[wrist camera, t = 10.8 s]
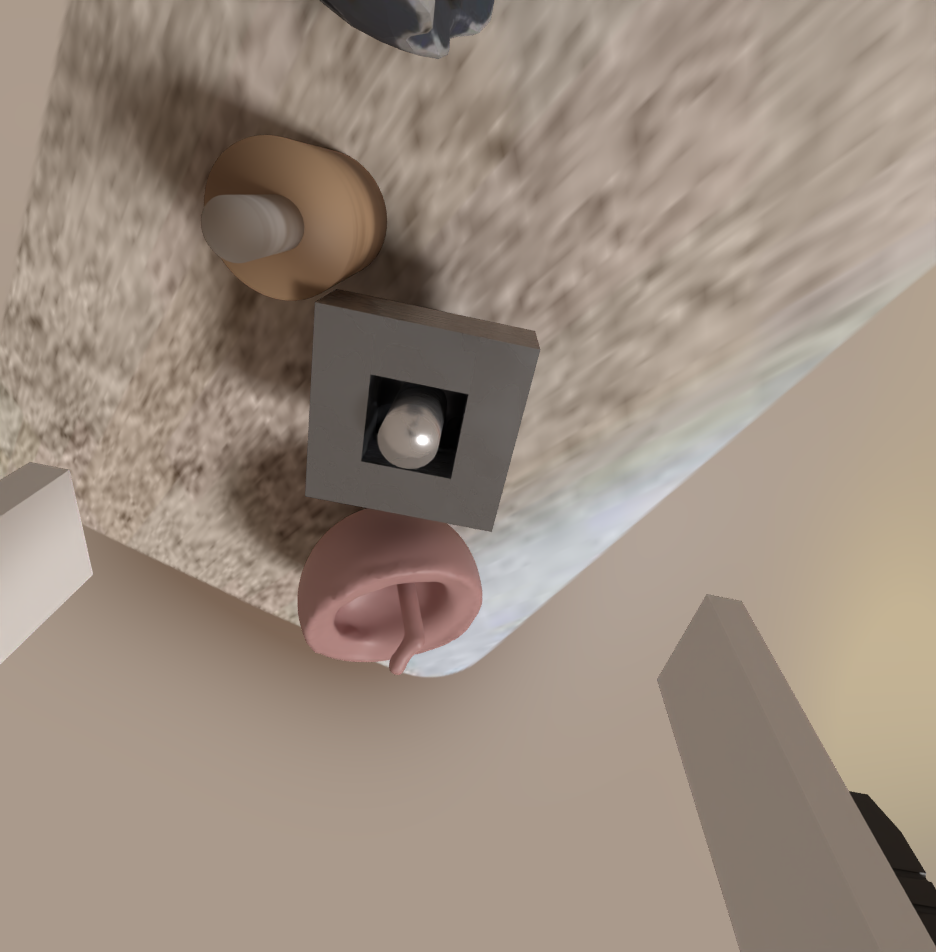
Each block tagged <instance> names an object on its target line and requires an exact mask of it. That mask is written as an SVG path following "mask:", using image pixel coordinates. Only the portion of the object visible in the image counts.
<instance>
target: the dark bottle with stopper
mask: <svg viewBox="0 0 936 952" xmlns="http://www.w3.org/2000/svg"><path fill="white" fill-rule="evenodd" d="M466 397H467V394H464V393H460V392H455V391H450V390H445V389H440V388H435V387H430V386H425V385H420V384H416V383H411V382H406V381H401V380H396V379H391V378H386V377H382V381H381V390H380V398H379V406H378V415H377V423H376V431H375V433H377V434H378V446H379V449H380V451H381V453H382V454H383V456H384V457H385V458H386V459H387V460H388V461H389V462H391V463H392V464H394V465H396V466H398V467H401V468H406V469H416V468H420V467H423V466H425V465H426V464H428V463H429V462H430V461H431V460H432V459H433V458H434V457H435V455H436V453H437V450H438V446H443V447H448V448H453V449H456V445H457V440H458V435H459V431H460V426H461V421H462V416H463V411H464V406H465V402H466Z"/></svg>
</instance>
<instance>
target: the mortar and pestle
mask: <svg viewBox="0 0 936 952" xmlns="http://www.w3.org/2000/svg"><path fill="white" fill-rule="evenodd" d="M481 605H482V586H481V581H480V576H479V573H478V569H477V566H476V563H475V560H474V558H473V556H472V554H471V552H470V550H469V548H468V547H467V545H466V544H465V542H464V541H463V539H462V538H461V537H460V536H459V534H458V533H457V532H456V531H455V530H454V529H453V528H452V527H450V526H449V525H448V524H447V523H443V522H438V521H432V520H427V519H422V518H417V517H411V516H406V515H401V514H396V513H390V512H385V511H380V510H375V509H369V508H367V509H364V510H361V511H358V512H356V513H353V514H352V515H350V516H348V517H346V518H344V519H343V520H341V521H340V522H338V523H337V524H336V525H334V526H333V527H332V528H330V529H329V530H328V531H327V532H326V533H325V534H324V535H323V537H322V538H321V539H320V540H319V541H318V542H317V544H316V545H315V547H314V548H313V550H312V551H311V553H310V555H309V557H308V559H307V561H306V563H305V566H304V568H303V571H302V574H301V578H300V582H299V589H298V615H299V621H300V625H301V628H302V632H303V635H304V637H305V640H306V643H307V644H308V645H309V646H310V647H311V648H312V649H313V651H314V652H316V653H320V654H322V655H325V656H327V657H330V658H334V659H339V660H344V661H353V662H377V661H385V660H390V663H389V669H390V671H391V672H392V673H393V674H395V675H400V674H401V673H403V671H404V670H405V668H406V665H407V663H408V662H409V660H410V659H411V657H412V656H413V655H414V654H419V653H423V652H426V651H429V650H432V649H435V648H438V647H440V646H443V645H445V644H447V643H449V642H451V641H452V640H455V639H456V638H458V637H459V636H460V635H462V634H463V633H464V632H465V631H466V630H467V629H468V628H469V626H470V625H471V623H472V622H473V620H474V618H475V617H476V615H477V614H478V612H479V610H480V607H481Z"/></svg>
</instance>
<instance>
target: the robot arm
mask: <svg viewBox="0 0 936 952" xmlns="http://www.w3.org/2000/svg"><path fill="white" fill-rule="evenodd" d="M92 575H93V572H92V568H91V563H90V559H89V555H88V550H87V545H86V541H85V537H84V532H83V528H82V523H81V519H80V514H79V510H78V505H77V501H76V496H75V492H74V488H73V483H72V479H71V474H70V470H68V469H63V468H58V467H53V466H48V465H43V464H37V463H32V462H29V463H27V464H26V465H24V466H22V467H21V468H19V469H17V470H16V471H14V472H13V473H11V474H9V475H8V476H6V477H4V478H3V479H1V480H0V664H1V663H2V662H3V661H4V660H5V659H6V658H7V657H8V656H9V655H10V654H11V653H12V652H13V651H14V650H15V649H17V648H18V646H20V645H21V644H22V643H23V642H24V641H25V640H26V639H27V638H28V637H29V636H30V635H31V634H32V633H33V632H34V631H35V630H36V629H37V628H38V627H39V626H40V625H41V624H42V623H43V622H44V621H45V620H46V619H47V618H49V617H50V616H51V615H52V614H53V613H54V612H55V611H56V610H57V609H58V608H59V607H60V606H61V605H62V604H63V603H64V602H65V601H66V600H67V599H68V598H69V597H70V596H71V595H72V594H73V593H74V592H75V591H76V590H77V589H78V588H79V587H81V586H82V584H84V582H86V581H87V580H88V579H89V578H90V577H91V576H92ZM657 681H658V684H659V688H660V691H661V694H662V697H663V701H664V704H665V707H666V710H667V714H668V717H669V720H670V723H671V727H672V730H673V733H674V737H675V740H676V743H677V746H678V750H679V753H680V756H681V759H682V763H683V766H684V769H685V773H686V776H687V779H688V782H689V786H690V789H691V792H692V796H693V799H694V802H695V805H696V808H697V812H698V815H699V818H700V822H701V825H702V828H703V832H704V835H705V838H706V841H707V845H708V848H709V851H710V854H711V858H712V861H713V864H714V867H715V871H716V874H717V877H718V881H719V884H720V887H721V890H722V894H723V897H724V900H725V903H726V907H727V910H728V913H729V917H730V920H731V923H732V926H733V930H734V933H735V936H736V939H737V943H738V946H739V949H740V952H936V889H935V887H934V885H933V884H932V882H928V881H927V880H926V872H925V871H924V869H923V867H922V866H921V864H920V862H919V861H918V859H917V858H916V856H915V854H914V853H913V851H912V849H911V848H910V846H909V844H908V843H907V841H906V839H905V838H904V836H903V834H902V833H901V831H900V830H899V829H898V828H897V827H896V826H895V825H894V824H893V822H892V821H891V820H890V819H889V818H888V817H887V816H886V815H885V814H884V812H883V811H882V810H881V809H880V808H879V807H878V806H877V805H876V804H875V802H874V801H873V800H872V799H871V798H870V797H869V796H868V795H867V794H861V793H855V792H850V791H848V789H847V788H846V786H845V784H844V782H843V781H842V779H841V777H840V775H839V774H838V772H837V770H836V768H835V766H834V764H833V763H832V761H831V759H830V758H829V756H828V754H827V752H826V750H825V748H824V747H823V745H822V743H821V741H820V740H819V738H818V736H817V734H816V733H815V731H814V729H813V727H812V725H811V723H810V722H809V720H808V718H807V717H806V715H805V713H804V711H803V709H802V708H801V706H800V704H799V702H798V700H797V699H796V697H795V695H794V693H793V691H792V690H791V688H790V686H789V684H788V683H787V681H786V679H785V677H784V676H783V674H782V672H781V670H780V668H779V667H778V665H777V663H776V661H775V659H774V658H773V656H772V654H771V652H770V650H769V649H768V647H767V645H766V643H765V642H764V640H763V638H762V636H761V634H760V633H759V631H758V629H757V627H756V626H755V624H754V622H753V620H752V618H751V617H750V615H749V613H748V611H747V610H746V608H745V606H744V604H743V602H742V601H739V600H734V599H729V598H723V597H719V596H714V595H708V594H707V595H706V596H705V598H704V600H703V602H702V603H701V605H700V607H699V608H698V610H697V612H696V614H695V615H694V617H693V619H692V620H691V622H690V624H689V625H688V627H687V629H686V631H685V633H684V634H683V636H682V638H681V639H680V641H679V643H678V644H677V646H676V648H675V650H674V651H673V653H672V655H671V656H670V658H669V660H668V662H667V663H666V665H665V667H664V668H663V670H662V672H661V674H660V675H659V677H658V679H657Z"/></svg>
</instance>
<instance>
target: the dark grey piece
mask: <svg viewBox="0 0 936 952" xmlns="http://www.w3.org/2000/svg"><path fill="white" fill-rule="evenodd" d="M320 1H321V2H322V3H323V4H324V5H326V6H327V7H328V8H329V9H331V10H332V11H333V12H334V13H336V14H337V15H338V16H339V17H341V18H342V19H343V20H345V21H346V22H347V23H348V24H350V25H351V26H353V27H354V28H356V29H358V30H360V31H362V32H364V33H366V34H368V35H369V36H371V37H373V38H375V39H377V40H379V41H381V42H383V43H386V44H388V45H391V46H393V47H395V48H398V49H400V50H403V51H406V52H410V53H413V54H416V55H419V56H424V57H430V58H436V59H440V58H442V57H444V56H446V55H448V52H449V44H450V38H454V37H458V36H470V35H475V34H477V33H479V32H480V31H481V30H482V29H483V28H484V27H485V26H486V25H487V24H488V23H489V21H490V20H491V15H492V10H493V4H494V0H320Z"/></svg>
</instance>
